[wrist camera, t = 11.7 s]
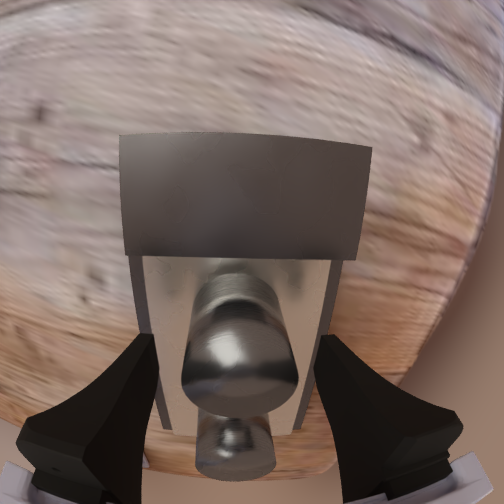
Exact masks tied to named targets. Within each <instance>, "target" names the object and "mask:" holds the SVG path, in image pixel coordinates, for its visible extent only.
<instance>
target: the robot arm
mask: <svg viewBox="0 0 504 504" xmlns="http://www.w3.org/2000/svg"><path fill="white" fill-rule="evenodd" d="M159 370H160V367H159V362H158V356H157V351H156V345H155V339H154V334H148V333H140V334H139V335H138V336H137V337H136V338H135V339H134V340H133V341H132V343H131V344H130V345H129V346H128V347H127V348H126V349H125V350H124V352H123V353H122V354H121V355H120V356H119V357H118V358H117V359H116V360H115V361H114V362H113V363H112V364H111V365H110V366H109V367H108V368H107V369H106V370H105V371H104V372H103V373H102V374H101V375H100V376H99V377H98V378H97V379H95V380H94V381H93V382H92V383H91V384H89V385H88V386H87V387H86V388H84V389H83V390H81V391H80V392H78V393H77V394H75V395H74V396H72V397H71V398H69V399H67V400H66V401H64V402H62V403H60V404H59V405H57V406H55V407H53V408H51V409H48V410H46V411H44V412H41V413H39V414H36V415H34V416H31V417H28V418H27V419H26V421H25V423H24V425H23V427H22V429H21V431H20V434H19V436H18V438H17V441H16V445H17V447H18V449H19V451H20V452H21V453H22V454H23V456H24V457H25V458H26V459H27V460H28V461H29V462H30V463H31V464H32V465H33V466H34V467H35V468H36V469H35V472H34V474H33V473H32V472H30V471H28V470H27V469H24V468H22V467H20V466H18V465H15V464H14V463H11V462H9V461H6V463H5V465H4V468H3V471H2V473H1V476H0V504H141V485H142V467H144V468H148V467H149V463H148V460H147V458H146V456H145V454H144V443H145V435H146V430H147V425H148V421H149V417H150V413H151V409H152V406H153V402H154V398H155V394H156V390H157V385H158V377H159ZM313 370H314V376H315V381H316V385H317V389H318V392H319V395H320V398H321V401H322V404H323V406H324V409H325V412H326V415H327V418H328V420H329V423H330V426H331V430H332V433H333V437H334V442H335V447H336V452H337V458H338V463H339V470H340V477H341V485H342V496H343V504H475V503H477V502H478V501H479V500H481V499H482V498H484V497H485V496H486V495H487V494H489V493H490V492H492V491H493V487H492V485H491V483H490V481H489V479H488V477H487V475H486V473H485V472H484V470H483V468H482V466H481V464H480V463H479V461H478V459H477V457H476V455H475V454H474V452H473V451H471V452H469V453H468V454H465V455H463V456H461V457H459V458H457V459H455V460H454V461H452V462H451V463H450V464H449V462H448V460H447V458H449V457H450V454H449V452H448V448H449V447H450V446H451V445H452V444H453V443H454V441H455V440H456V439H457V438H458V437H459V436H460V434H461V433H462V430H463V424H462V423H461V421H460V419H459V418H458V416H457V415H456V413H455V411H452V410H449V409H446V408H442V407H439V406H436V405H433V404H431V403H428V402H426V401H423V400H421V399H419V398H416V397H415V396H413V395H411V394H409V393H407V392H405V391H403V390H401V389H400V388H398V387H396V386H395V385H393V384H392V383H390V382H389V381H387V380H386V379H384V378H383V377H382V376H380V375H379V374H378V373H376V372H375V371H374V370H373V369H371V368H370V367H369V366H368V365H367V364H365V363H364V362H363V361H362V360H361V359H360V358H359V357H358V356H356V355H355V354H354V353H353V352H352V351H351V350H350V349H349V348H348V347H347V346H346V345H345V344H344V343H343V342H342V341H341V340H340V339H339V338H338V337H336V336H335V335H334V334H333V335H321V338H320V342H319V347H318V351H317V355H316V359H315V363H314V367H313Z"/></svg>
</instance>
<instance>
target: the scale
mask: <svg viewBox="0 0 504 504" xmlns="http://www.w3.org/2000/svg"><path fill="white" fill-rule="evenodd" d="M371 156H372V147H368V146H362V145H355V144H349V143H342V142H335V141H327V140H319V139H310V138H300V137H289V136H277V135H263V134H245V133H212V132H181V133H149V134H131V135H119V172H120V197H121V213H122V226H123V237H124V247H125V255H127V256H128V257H129V265H130V273H131V281H132V288H133V295H134V301H135V308H136V314H137V319H138V325H139V330H140V333H148V334H154V339H155V345H156V351H157V356H158V362H159V367H160V370H159V377H158V385H157V390H156V394H155V401H156V405H157V408H158V412H159V416H160V419H161V423H162V426H163V429H168V430H173V433H174V435H183V436H197V420H198V407H197V406H196V405H195V404H193V403H192V402H191V401H190V400H189V399H188V397H187V396H186V395H185V393H184V391H183V389H182V385H181V374H182V367H183V361H184V355H185V348H186V342H187V336H188V330H189V325H190V319H191V313H192V308H193V303H194V299H195V297H196V295H197V293H198V291H199V290H200V289H201V288H202V286H204V285H205V284H206V283H207V282H209V281H210V280H212V279H214V278H216V277H218V276H221V275H224V274H230V273H243V274H249V275H253V276H255V277H258V278H260V279H261V280H263V281H265V282H266V283H267V284H268V285H269V286H270V287H271V288H272V289H273V290H274V292H275V293H276V295H277V297H278V300H279V304H280V307H281V311H282V315H283V318H284V322H285V325H286V329H287V333H288V336H289V340H290V344H291V347H292V351H293V355H294V358H295V362H296V366H297V369H298V375H299V381H298V385H297V388H296V390H295V392H294V394H293V395H292V396H291V397H290V399H289V400H288V401H286V402H285V403H284V404H283V405H281V406H280V407H278V408H276V409H275V410H273V411H270V412H268V415H269V422H270V428H271V434H272V436H278V435H291V432H292V430H294V429H301V426H302V422H303V419H304V416H305V413H306V410H307V407H308V403H309V400H310V397H311V393H312V390H313V386H314V383H315V376H314V370H313V367H314V363H315V359H316V355H317V351H318V347H319V342H320V338H321V335H327V334H328V329H329V325H330V321H331V317H332V312H333V308H334V303H335V298H336V294H337V289H338V284H339V279H340V274H341V269H342V264H343V260H356V255H357V250H358V245H359V239H360V234H361V228H362V222H363V216H364V209H365V203H366V196H367V189H368V181H369V173H370V165H371Z"/></svg>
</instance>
